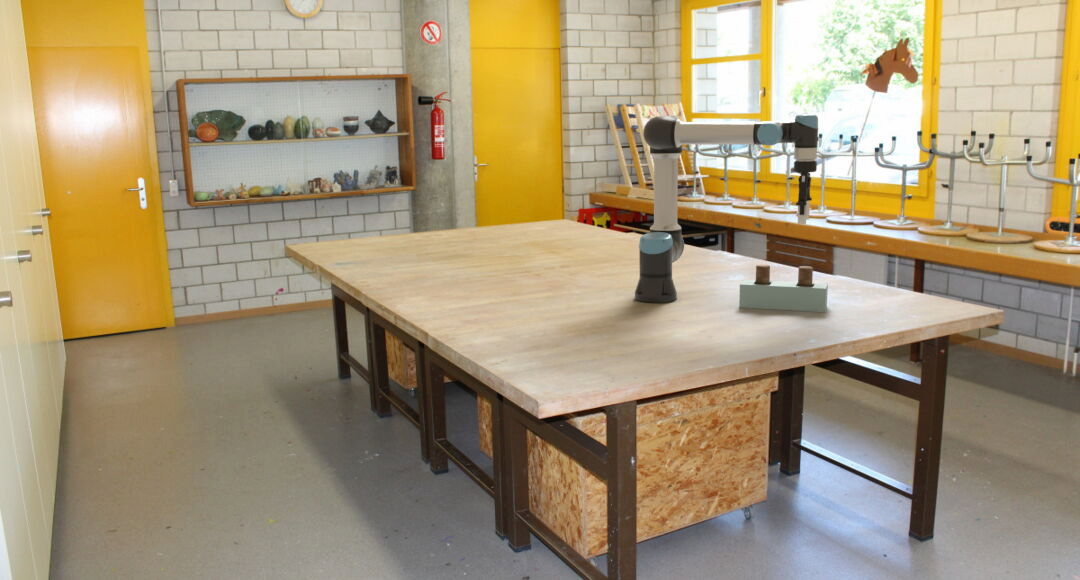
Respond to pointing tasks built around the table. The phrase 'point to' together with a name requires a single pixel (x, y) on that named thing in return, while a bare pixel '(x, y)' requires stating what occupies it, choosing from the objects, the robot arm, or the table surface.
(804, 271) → the peg
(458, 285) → the table surface
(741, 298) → the socket board
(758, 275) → the peg
